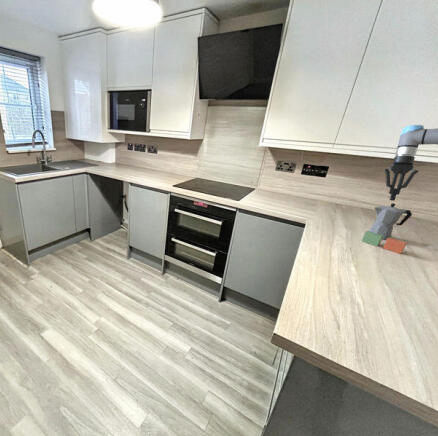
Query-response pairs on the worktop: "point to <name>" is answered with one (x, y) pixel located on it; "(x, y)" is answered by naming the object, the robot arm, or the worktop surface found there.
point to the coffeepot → (388, 220)
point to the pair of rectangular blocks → (389, 245)
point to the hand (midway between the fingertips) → (391, 200)
